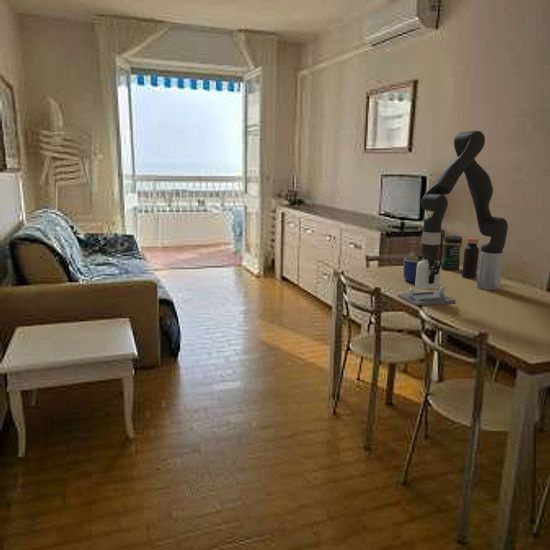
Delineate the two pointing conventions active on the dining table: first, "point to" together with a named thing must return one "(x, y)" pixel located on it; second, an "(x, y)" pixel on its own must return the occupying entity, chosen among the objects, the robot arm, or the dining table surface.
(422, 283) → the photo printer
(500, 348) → the dining table surface
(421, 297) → the docking tray
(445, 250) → the coffee jar
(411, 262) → the planter
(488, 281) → the robot arm
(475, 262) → the bottle
